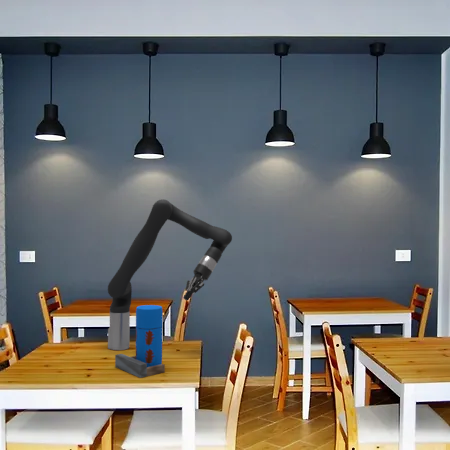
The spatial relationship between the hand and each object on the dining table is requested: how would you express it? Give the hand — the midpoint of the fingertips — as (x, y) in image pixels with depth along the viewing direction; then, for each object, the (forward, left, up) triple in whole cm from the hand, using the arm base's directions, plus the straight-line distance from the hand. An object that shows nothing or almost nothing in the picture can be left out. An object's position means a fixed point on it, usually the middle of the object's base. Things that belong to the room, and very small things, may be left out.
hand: (185, 299), depth 237 cm
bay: (-14, -23, -26) cm, 37 cm away
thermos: (-11, -19, -26) cm, 34 cm away
